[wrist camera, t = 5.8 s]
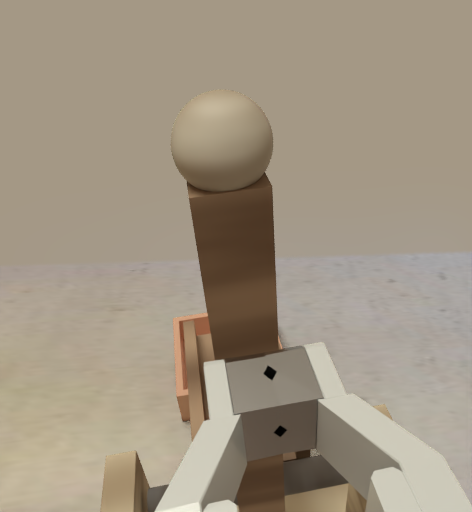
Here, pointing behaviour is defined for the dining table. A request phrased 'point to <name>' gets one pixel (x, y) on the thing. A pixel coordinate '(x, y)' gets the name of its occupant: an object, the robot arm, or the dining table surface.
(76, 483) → the dining table surface
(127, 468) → the stand
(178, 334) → the pink shallow hollow tray
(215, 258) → the lever
